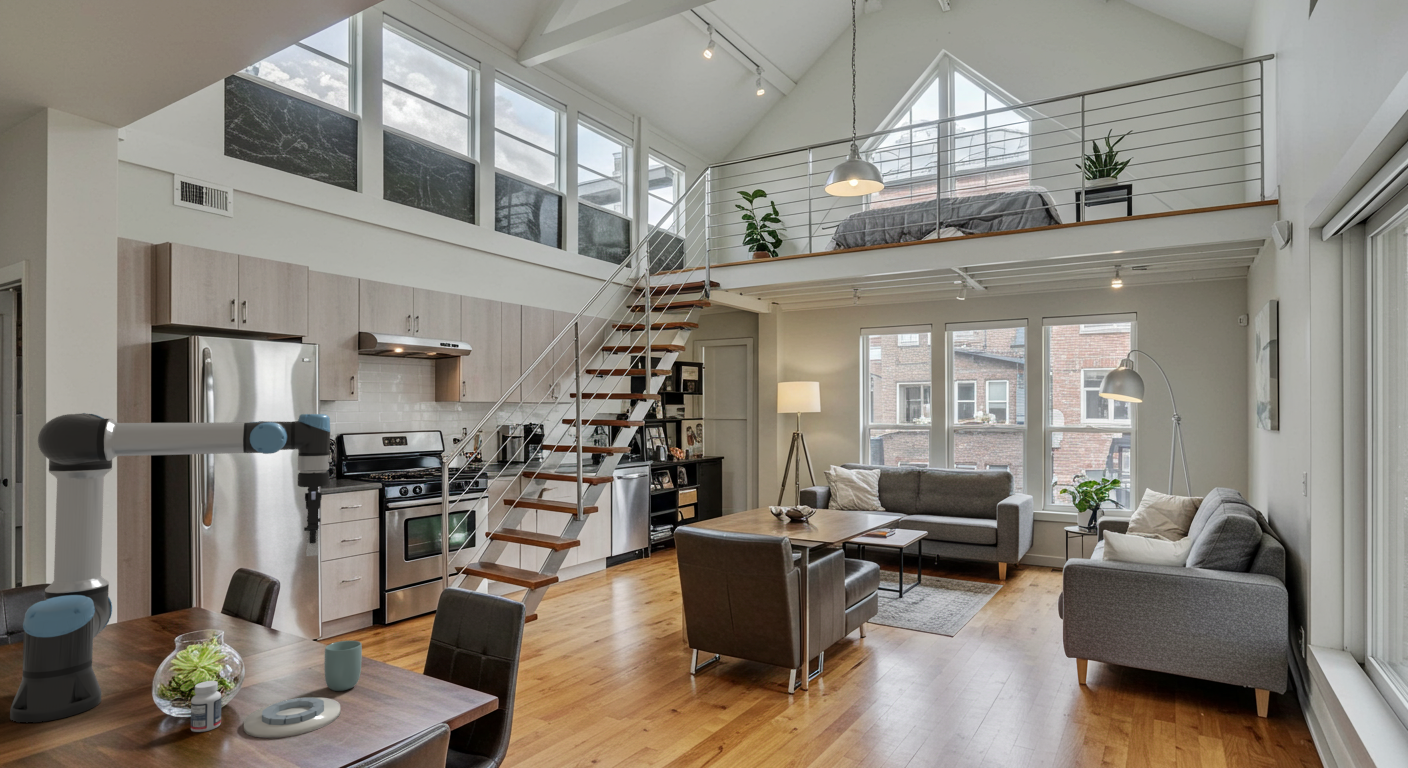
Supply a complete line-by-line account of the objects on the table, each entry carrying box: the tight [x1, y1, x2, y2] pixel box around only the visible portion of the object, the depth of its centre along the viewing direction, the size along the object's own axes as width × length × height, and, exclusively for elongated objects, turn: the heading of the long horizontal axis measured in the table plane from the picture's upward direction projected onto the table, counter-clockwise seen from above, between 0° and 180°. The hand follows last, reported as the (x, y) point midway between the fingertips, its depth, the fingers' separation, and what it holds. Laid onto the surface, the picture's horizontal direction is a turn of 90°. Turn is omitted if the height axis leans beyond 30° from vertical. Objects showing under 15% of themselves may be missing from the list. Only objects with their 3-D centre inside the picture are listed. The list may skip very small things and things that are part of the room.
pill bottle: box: [190, 680, 222, 733], centre depth 155 cm, size 5×5×9 cm
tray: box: [243, 696, 341, 739], centre depth 159 cm, size 18×18×2 cm
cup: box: [323, 640, 363, 692], centre depth 177 cm, size 8×8×10 cm
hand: (312, 551), depth 200 cm, fingers open, 13 cm apart
